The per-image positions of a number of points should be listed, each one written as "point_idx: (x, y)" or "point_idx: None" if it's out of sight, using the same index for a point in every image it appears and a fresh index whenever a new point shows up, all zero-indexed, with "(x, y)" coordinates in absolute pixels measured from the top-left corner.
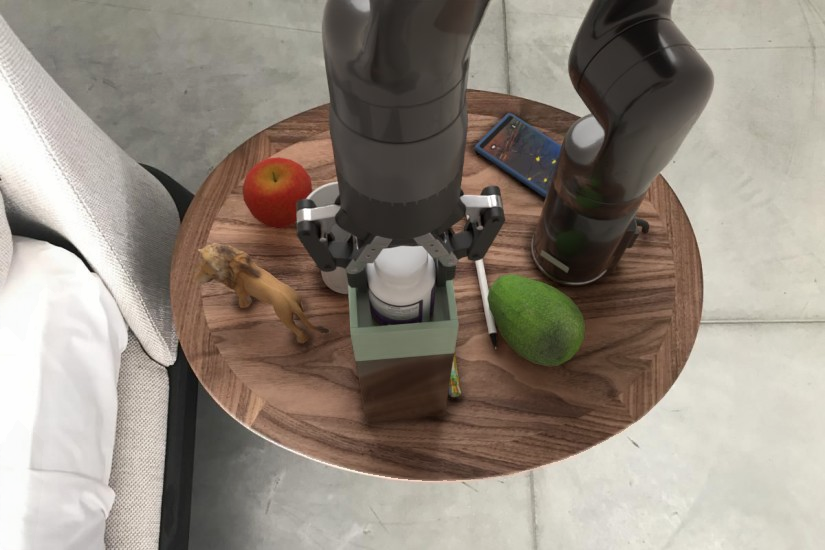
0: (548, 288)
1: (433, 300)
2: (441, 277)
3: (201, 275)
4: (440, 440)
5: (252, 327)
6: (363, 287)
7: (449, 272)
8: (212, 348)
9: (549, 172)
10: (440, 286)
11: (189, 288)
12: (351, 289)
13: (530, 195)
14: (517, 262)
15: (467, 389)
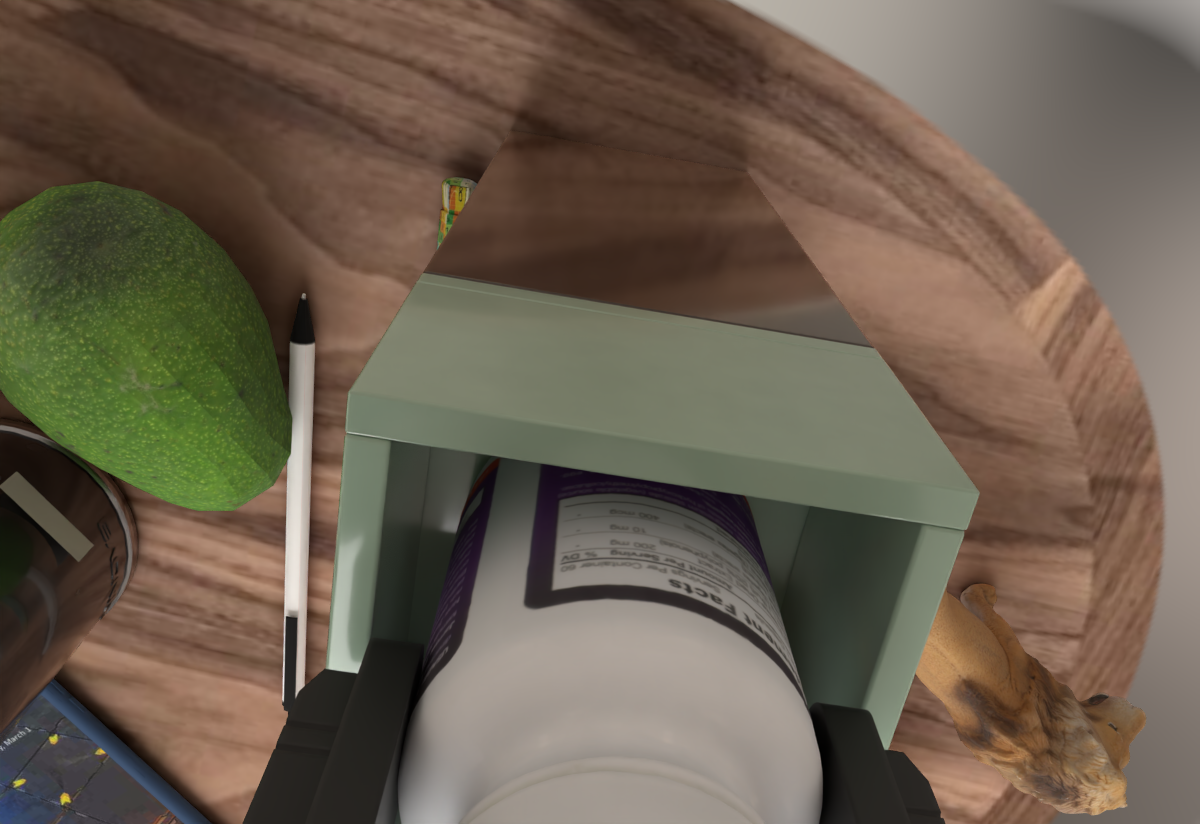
0: (63, 441)
1: (460, 556)
2: (374, 727)
3: (1130, 726)
4: (542, 53)
5: (979, 526)
6: (855, 756)
7: (317, 742)
8: (1104, 495)
9: (37, 757)
10: (400, 648)
11: (1105, 666)
12: (881, 724)
13: (110, 704)
14: (185, 530)
15: (420, 192)
